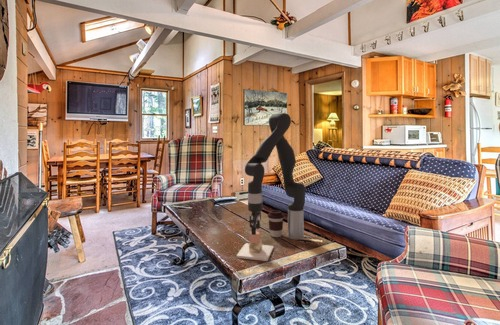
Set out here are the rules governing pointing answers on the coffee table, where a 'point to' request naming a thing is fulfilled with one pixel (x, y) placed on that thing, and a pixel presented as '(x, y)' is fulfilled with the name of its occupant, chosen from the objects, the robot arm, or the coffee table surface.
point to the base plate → (261, 256)
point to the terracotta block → (255, 237)
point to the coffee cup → (275, 223)
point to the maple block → (255, 247)
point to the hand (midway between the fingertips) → (255, 231)
